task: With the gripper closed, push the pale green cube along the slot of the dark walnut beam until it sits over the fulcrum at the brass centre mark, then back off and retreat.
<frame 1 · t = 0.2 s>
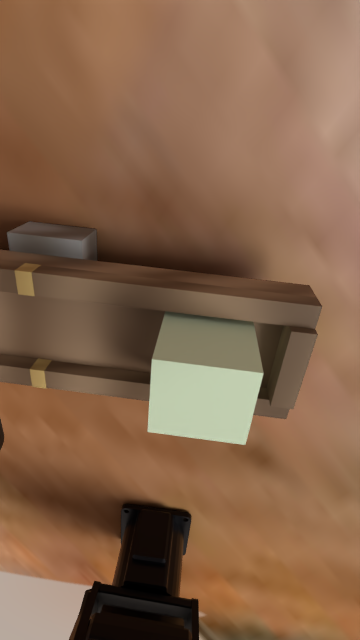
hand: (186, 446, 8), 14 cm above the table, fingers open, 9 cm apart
beam: (68, 295, 22), on the table
pale green cube: (203, 372, 16), point 6 cm above the table, slide at -9.0 cm
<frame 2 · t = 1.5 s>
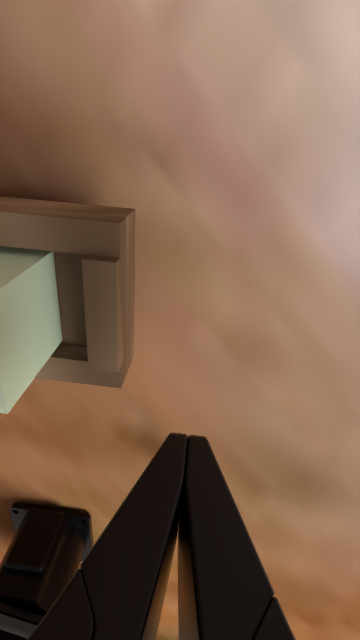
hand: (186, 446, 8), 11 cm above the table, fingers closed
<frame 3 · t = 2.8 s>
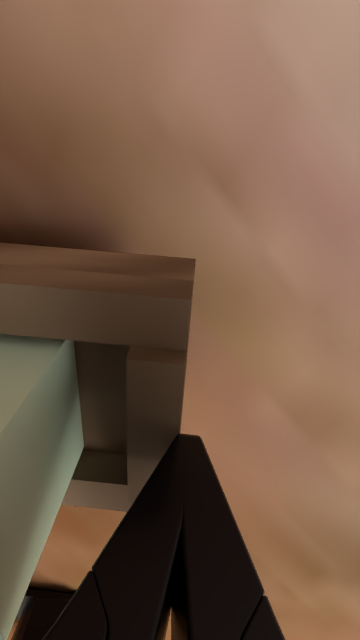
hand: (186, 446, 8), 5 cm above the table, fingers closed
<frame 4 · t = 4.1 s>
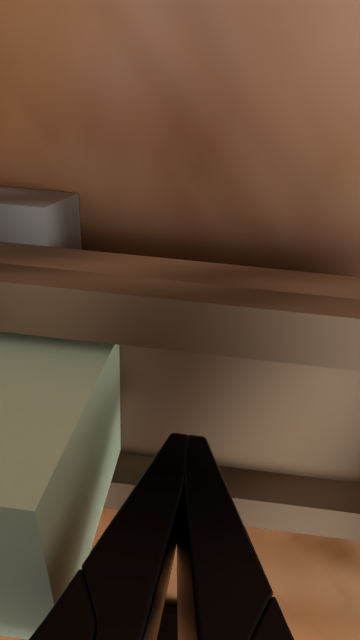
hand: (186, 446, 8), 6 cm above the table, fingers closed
beam: (34, 312, 13), on the table
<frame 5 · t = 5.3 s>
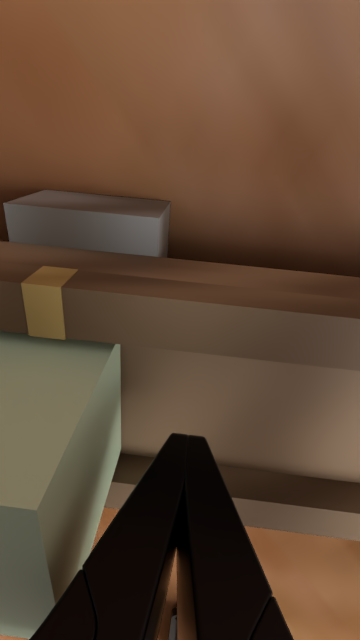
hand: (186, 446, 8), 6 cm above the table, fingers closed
beam: (110, 320, 13), on the table
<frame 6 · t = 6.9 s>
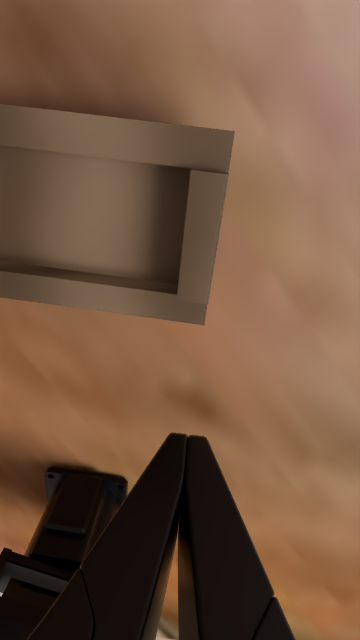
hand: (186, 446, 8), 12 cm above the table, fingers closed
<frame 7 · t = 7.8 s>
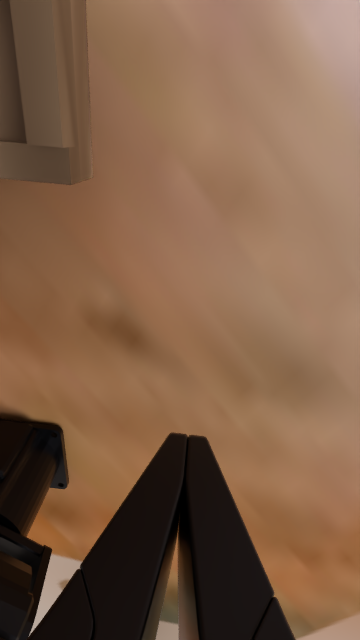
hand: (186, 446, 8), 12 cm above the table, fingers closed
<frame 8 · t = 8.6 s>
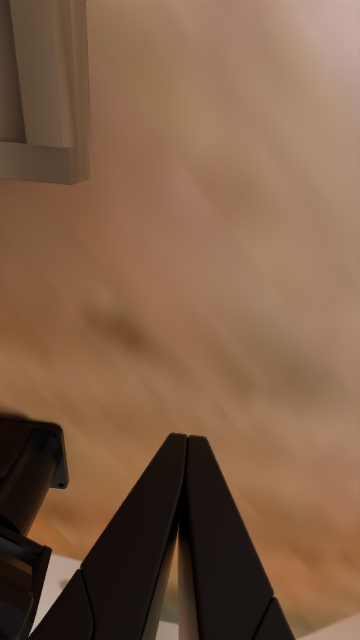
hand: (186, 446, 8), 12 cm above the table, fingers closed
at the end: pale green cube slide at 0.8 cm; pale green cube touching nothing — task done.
